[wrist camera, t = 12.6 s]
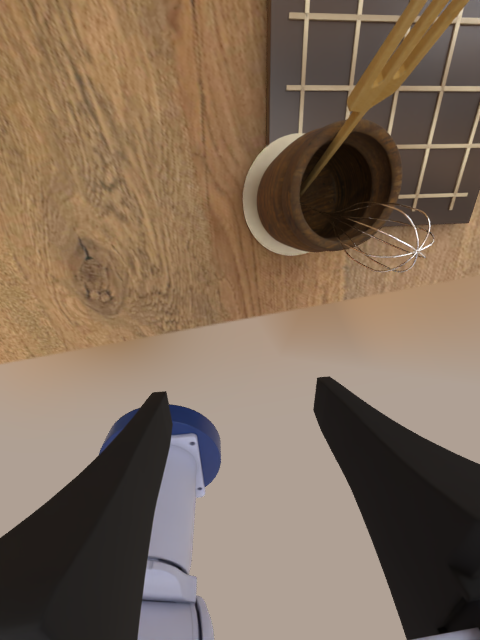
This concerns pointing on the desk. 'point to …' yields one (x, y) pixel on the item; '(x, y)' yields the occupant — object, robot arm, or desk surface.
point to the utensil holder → (351, 155)
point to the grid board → (391, 113)
